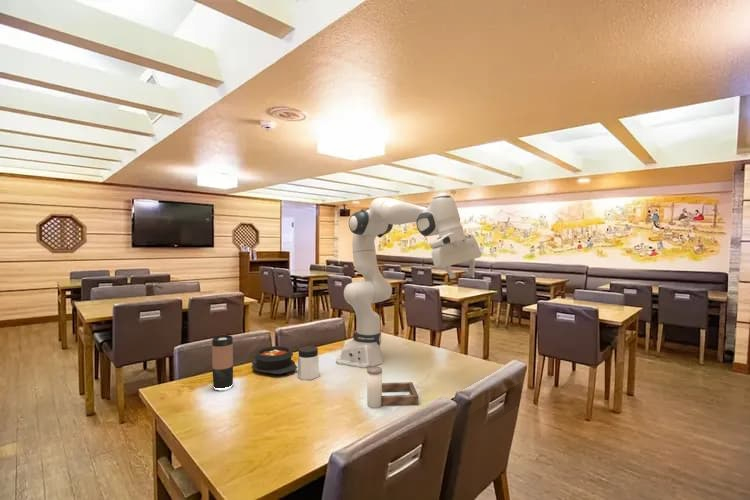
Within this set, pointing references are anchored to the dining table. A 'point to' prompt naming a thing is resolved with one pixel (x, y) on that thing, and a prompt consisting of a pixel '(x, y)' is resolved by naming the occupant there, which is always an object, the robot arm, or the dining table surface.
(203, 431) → the dining table surface
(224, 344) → the travel mug
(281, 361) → the casserole
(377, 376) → the canister
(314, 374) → the jar
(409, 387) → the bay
